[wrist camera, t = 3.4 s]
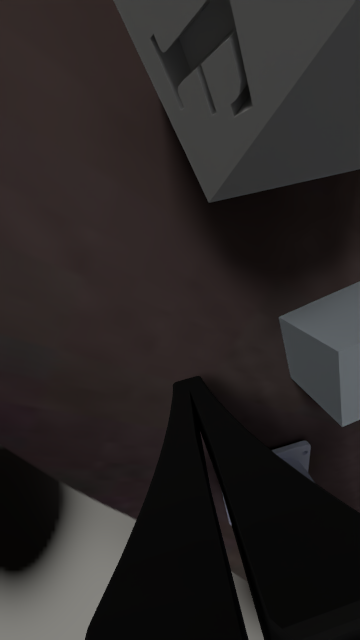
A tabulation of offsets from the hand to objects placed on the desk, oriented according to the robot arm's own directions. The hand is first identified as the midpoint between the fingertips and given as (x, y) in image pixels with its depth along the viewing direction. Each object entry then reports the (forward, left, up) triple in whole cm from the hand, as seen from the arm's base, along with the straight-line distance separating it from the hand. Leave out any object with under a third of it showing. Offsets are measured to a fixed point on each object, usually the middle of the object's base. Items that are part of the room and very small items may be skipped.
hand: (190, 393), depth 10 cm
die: (+12, -5, -2) cm, 13 cm away
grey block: (0, -10, -2) cm, 10 cm away
